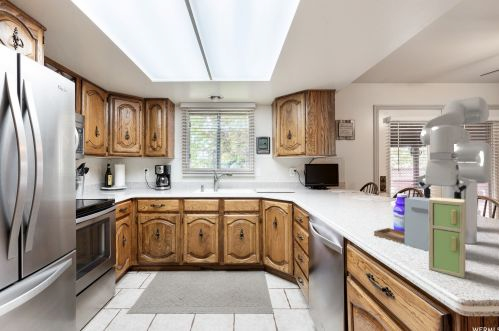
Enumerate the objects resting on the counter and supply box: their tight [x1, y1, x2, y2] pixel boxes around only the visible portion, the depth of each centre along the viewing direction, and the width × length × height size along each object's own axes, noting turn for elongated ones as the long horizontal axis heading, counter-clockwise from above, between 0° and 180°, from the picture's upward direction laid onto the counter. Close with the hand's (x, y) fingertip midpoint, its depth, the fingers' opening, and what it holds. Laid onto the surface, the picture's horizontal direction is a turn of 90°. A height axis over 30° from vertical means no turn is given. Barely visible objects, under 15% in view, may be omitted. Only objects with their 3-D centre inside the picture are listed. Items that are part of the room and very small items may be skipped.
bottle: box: [392, 193, 409, 232], centre depth 108 cm, size 7×6×17 cm
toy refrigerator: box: [428, 196, 466, 279], centre depth 69 cm, size 8×7×21 cm
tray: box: [373, 227, 405, 244], centre depth 99 cm, size 10×11×2 cm
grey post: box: [455, 180, 479, 245], centre depth 94 cm, size 6×6×25 cm
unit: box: [404, 196, 431, 252], centre depth 87 cm, size 9×12×18 cm
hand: (441, 200), depth 93 cm, fingers open, 9 cm apart
